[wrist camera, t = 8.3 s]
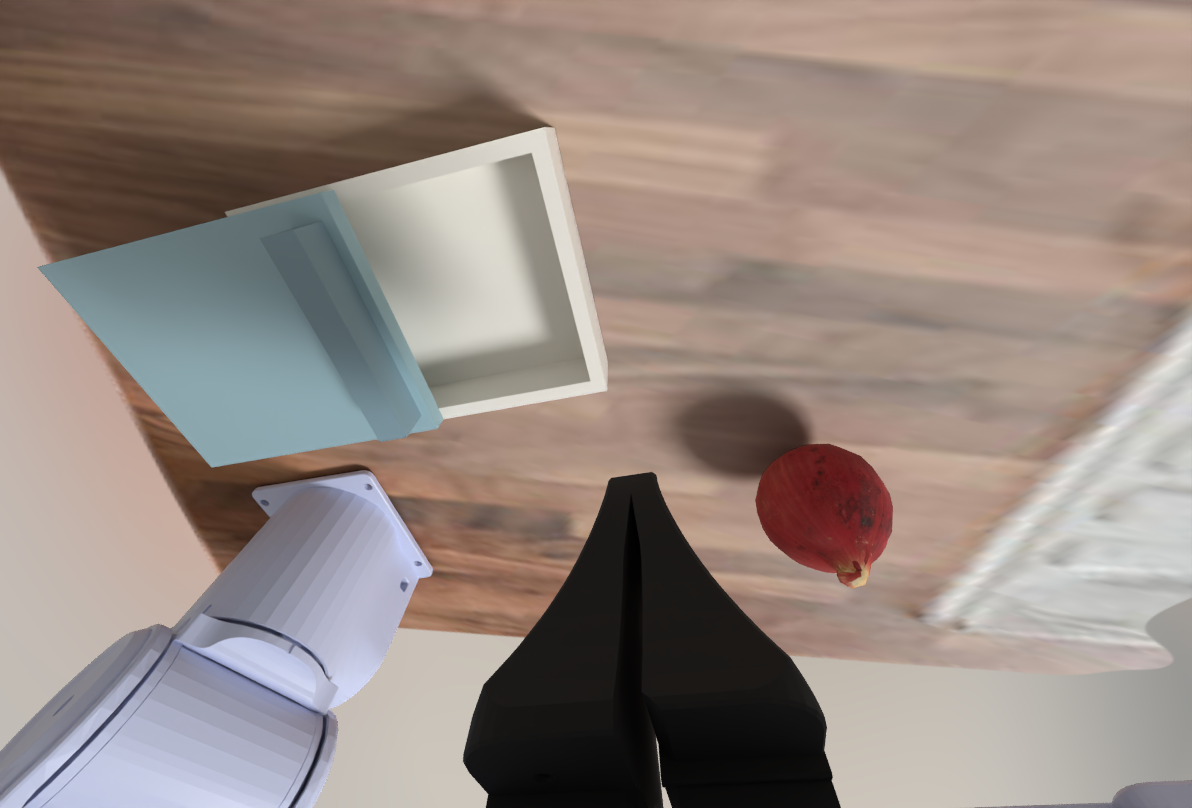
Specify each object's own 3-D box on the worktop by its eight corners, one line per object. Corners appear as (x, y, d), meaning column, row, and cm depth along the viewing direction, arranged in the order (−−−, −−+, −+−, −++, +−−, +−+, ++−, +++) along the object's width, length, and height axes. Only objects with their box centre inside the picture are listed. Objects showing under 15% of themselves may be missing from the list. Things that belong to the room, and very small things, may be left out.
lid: (443, 418, 20) (424, 451, 18) (224, 457, 22) (183, 491, 19) (333, 189, 15) (289, 198, 13) (60, 261, 17) (-17, 279, 15)
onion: (779, 399, 23) (851, 513, 16) (871, 434, 24) (976, 557, 17) (721, 478, 26) (761, 603, 19) (805, 506, 27) (872, 635, 20)
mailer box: (607, 360, 22) (606, 390, 19) (387, 401, 23) (360, 433, 21) (554, 127, 17) (544, 127, 14) (278, 201, 18) (224, 211, 16)
